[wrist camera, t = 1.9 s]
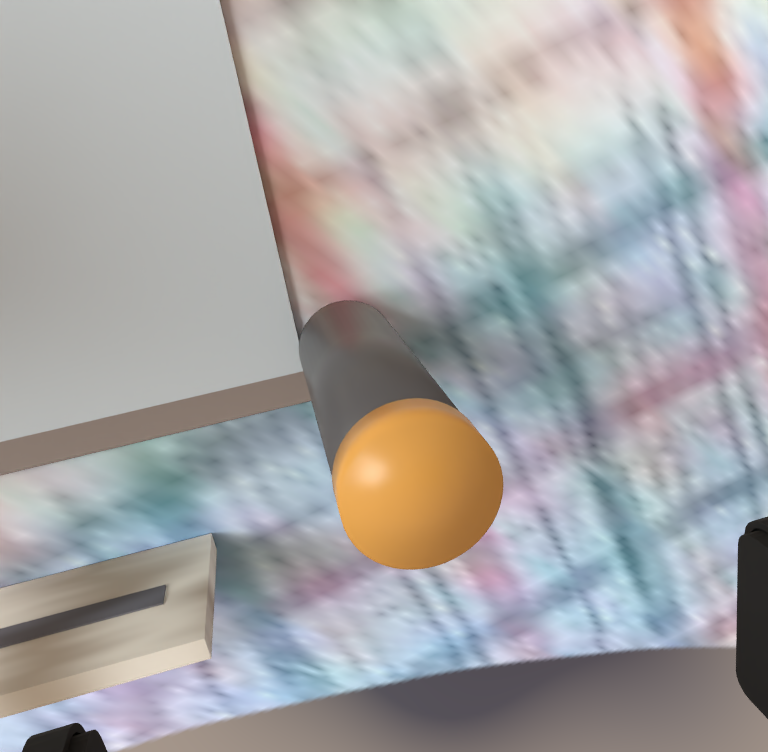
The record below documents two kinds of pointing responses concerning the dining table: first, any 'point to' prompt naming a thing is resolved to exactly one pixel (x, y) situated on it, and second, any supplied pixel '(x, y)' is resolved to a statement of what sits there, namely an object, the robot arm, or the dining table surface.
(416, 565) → the marker
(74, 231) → the notepad
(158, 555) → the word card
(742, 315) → the dining table surface
